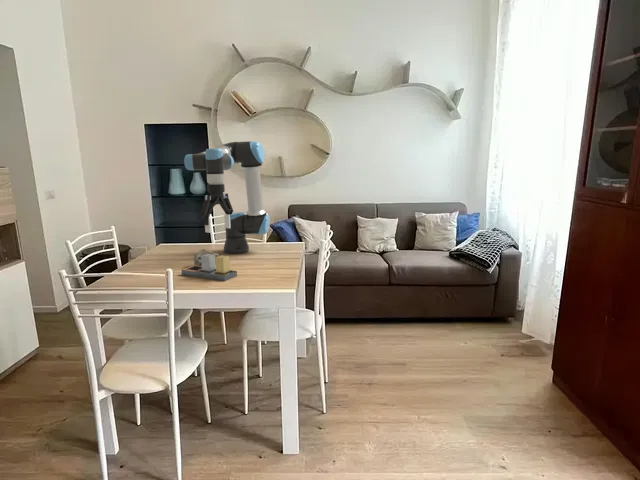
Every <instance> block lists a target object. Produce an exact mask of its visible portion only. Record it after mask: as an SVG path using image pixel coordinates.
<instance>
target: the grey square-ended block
mask: <svg viewBox="0 0 640 480" xmlns="http://www.w3.org/2000/svg"><path fill="white" fill-rule="evenodd" d="M201 262H202V272H207V273H211V272H213V271H216V264H215V255H214V254H205V255H202V256H201Z"/></svg>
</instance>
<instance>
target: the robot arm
mask: <svg viewBox="0 0 640 480" xmlns="http://www.w3.org/2000/svg"><path fill="white" fill-rule="evenodd" d="M265 156H266V155H265V150H264V147H263V145H262V143H261V142H260V141H247V140H246V141H230V142H226V143H223V144H220V145H218V146H217V147H215V148H206V150H205V151H203V152H199V153H191V154H190V153H189V154H186V155H185V157H184V158H183V159H184V160H183V161H184V166H185V169H186V170H187V171H206V181H207V193H208V194H209V195H207V194H206V195H204V196H203V202H202V206H201V210H200V214H199V217H200V218H202V219H203V224H204V229H205V230H204V231H205V233H208V234H209V233H210V234H211V233H212V223H211V222H212V221H211V217H210V216H211V213H212V212H213V210H214V207H216V205H219V206H220V208H221V209H222V211H223V212H224V213H225V214H223V215H224V230H225V242H224V245H223V253H226V254H243V253H248V252H249V251H250V246H249V243H248V240H247V238H246V237H247V235H259V236H260V235H265V234H268V232H269V230H270V225H271V217H270V215H269V214H267V211H266V209H264V203H263V192H262V191H263V190H262V183H261V172H260V168H262V167H263V164H264V162H265V160H266V159H265ZM234 164H240V167H241V168H242V169H243V170H244V171H243V172H244V180H245V188H246V197H247V199H246V201H247V208H248V210H247V211H246V213H245V212H244V211H239V212H234V209H233V206H232V204H231V201H230V199H229V193H225V189H226V188H225V184H224V183H225V173H224V171H228V170H231V169H232V168H233V167H234Z"/></svg>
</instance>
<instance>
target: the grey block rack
mask: <svg viewBox="0 0 640 480" xmlns="http://www.w3.org/2000/svg"><path fill="white" fill-rule="evenodd" d="M181 275H182V276H186V275H187V277H193V276H194V278H200V277H201V278H202V279H207V278H208V280H215V281H222V282H226V281H229V280H231V279H233V278H237V277H238V270H232V269H230V273H228V274H225V275H222V274H216V271H213V272H211V273H207V272H202V266H197V265H194V264H193V265H192V266H188V267H185V268H183V269H181Z"/></svg>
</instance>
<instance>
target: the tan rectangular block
mask: <svg viewBox="0 0 640 480" xmlns="http://www.w3.org/2000/svg"><path fill="white" fill-rule="evenodd" d="M215 261H216V274H222V275H225V274H228V273H230V270H231V264H230V261H231V260H230V256H229V255H223V254H222V255H219V256H218V257H215Z"/></svg>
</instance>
